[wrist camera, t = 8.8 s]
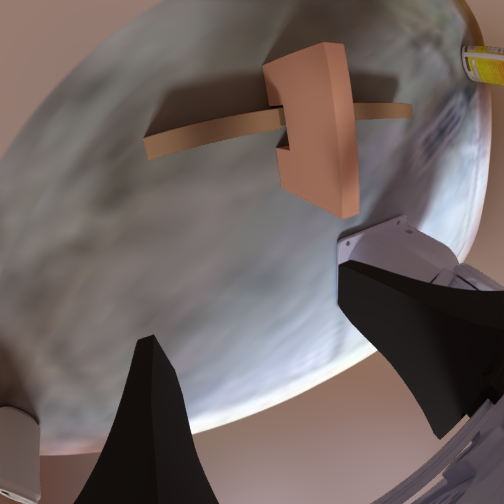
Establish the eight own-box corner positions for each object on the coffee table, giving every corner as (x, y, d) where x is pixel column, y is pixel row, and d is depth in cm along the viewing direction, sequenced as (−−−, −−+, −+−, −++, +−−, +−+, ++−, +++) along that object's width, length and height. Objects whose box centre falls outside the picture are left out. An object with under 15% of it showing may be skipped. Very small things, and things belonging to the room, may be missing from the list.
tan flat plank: (262, 65, 15) (323, 42, 9) (278, 64, 15) (343, 44, 9) (281, 187, 19) (342, 219, 14) (296, 184, 20) (359, 213, 14)
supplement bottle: (474, 87, 23) (532, 99, 14) (459, 68, 21) (524, 77, 12) (475, 58, 21) (530, 66, 12) (459, 37, 19) (521, 43, 10)
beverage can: (-8, 396, 16) (-19, 480, 6) (36, 411, 19) (34, 500, 9) (4, 421, 18) (0, 496, 8) (44, 434, 21) (46, 511, 11)
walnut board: (386, 102, 19) (411, 104, 17) (387, 115, 20) (412, 117, 17) (143, 137, 15) (142, 138, 12) (148, 155, 15) (148, 160, 13)
